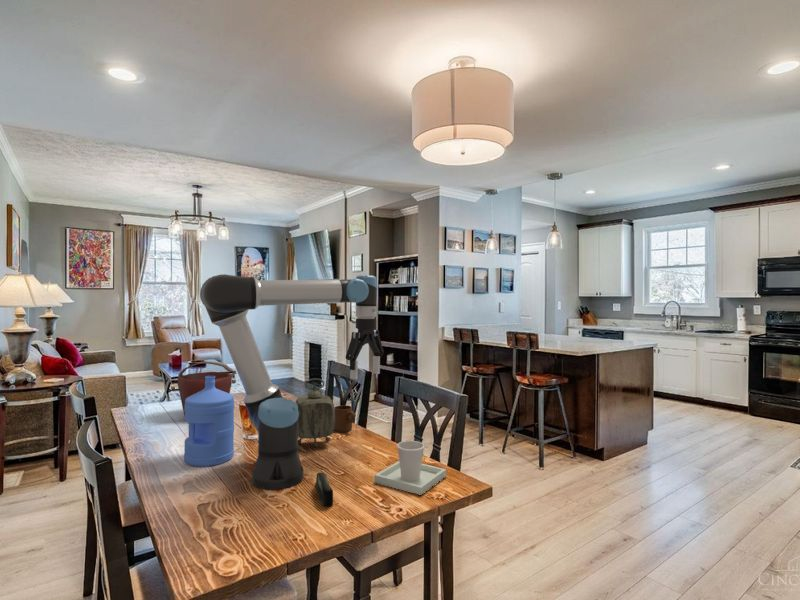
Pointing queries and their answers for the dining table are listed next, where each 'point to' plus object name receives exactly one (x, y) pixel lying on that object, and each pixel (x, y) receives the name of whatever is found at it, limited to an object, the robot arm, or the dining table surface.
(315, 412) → the tabletop clock
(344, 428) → the mug
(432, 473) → the tray
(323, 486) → the dark green rounded block
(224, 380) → the bucket
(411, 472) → the dixie cup
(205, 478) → the dining table surface
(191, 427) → the water jug
